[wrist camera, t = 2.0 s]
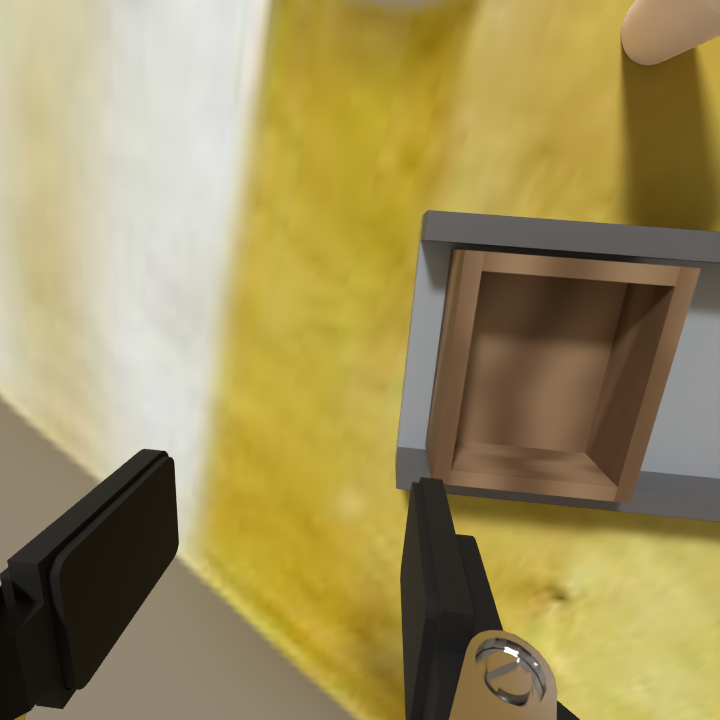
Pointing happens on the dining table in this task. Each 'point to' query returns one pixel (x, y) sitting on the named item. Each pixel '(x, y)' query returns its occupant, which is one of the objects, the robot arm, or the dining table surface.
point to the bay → (685, 381)
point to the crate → (552, 371)
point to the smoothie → (668, 28)
